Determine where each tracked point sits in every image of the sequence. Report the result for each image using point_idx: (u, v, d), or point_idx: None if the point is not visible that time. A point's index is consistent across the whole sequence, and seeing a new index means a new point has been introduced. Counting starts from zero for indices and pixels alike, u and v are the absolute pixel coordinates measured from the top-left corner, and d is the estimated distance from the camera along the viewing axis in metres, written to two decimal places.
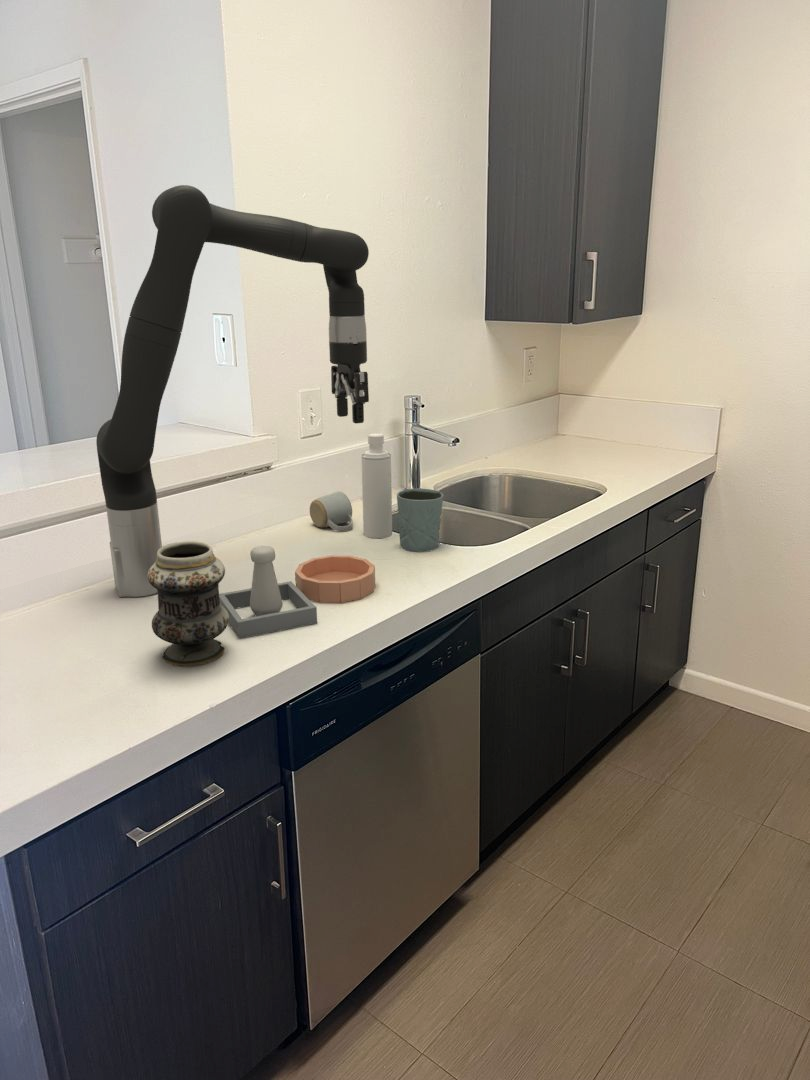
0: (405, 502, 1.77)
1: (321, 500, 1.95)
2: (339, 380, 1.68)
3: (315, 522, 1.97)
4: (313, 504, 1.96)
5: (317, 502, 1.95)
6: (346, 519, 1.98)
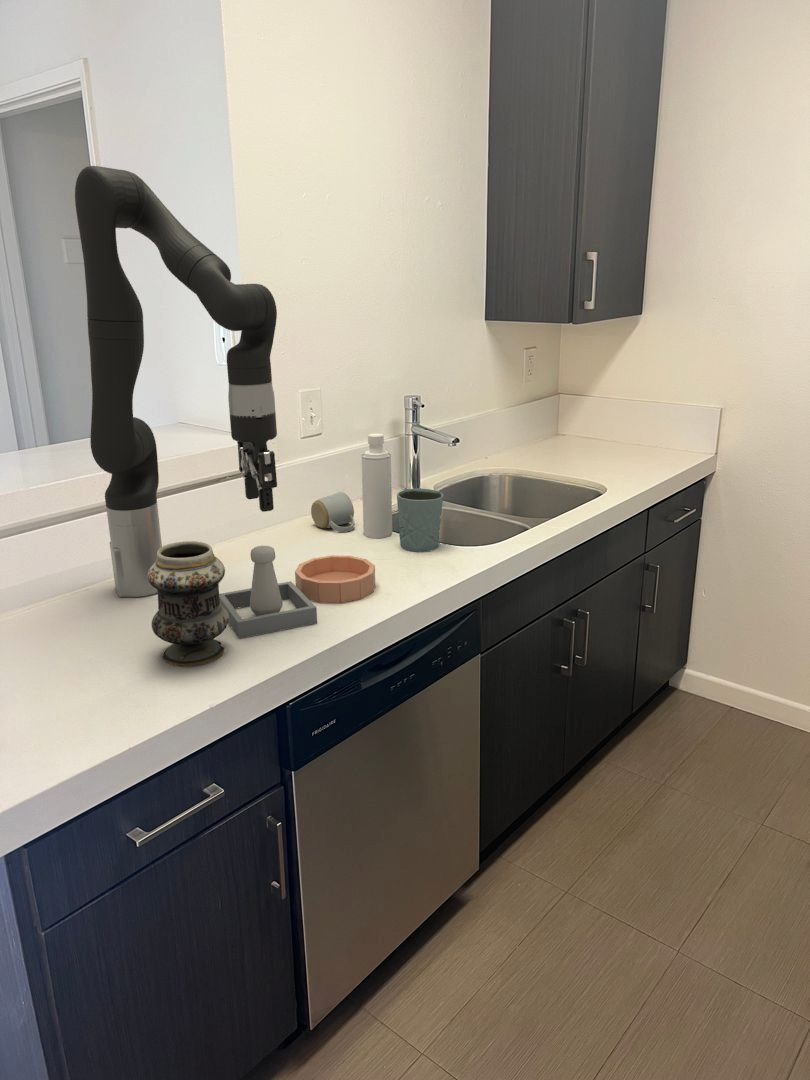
0: (405, 502, 1.77)
1: (323, 500, 1.95)
2: (244, 458, 1.40)
3: (316, 523, 1.97)
4: (314, 505, 1.96)
5: (319, 503, 1.94)
6: (348, 520, 1.98)
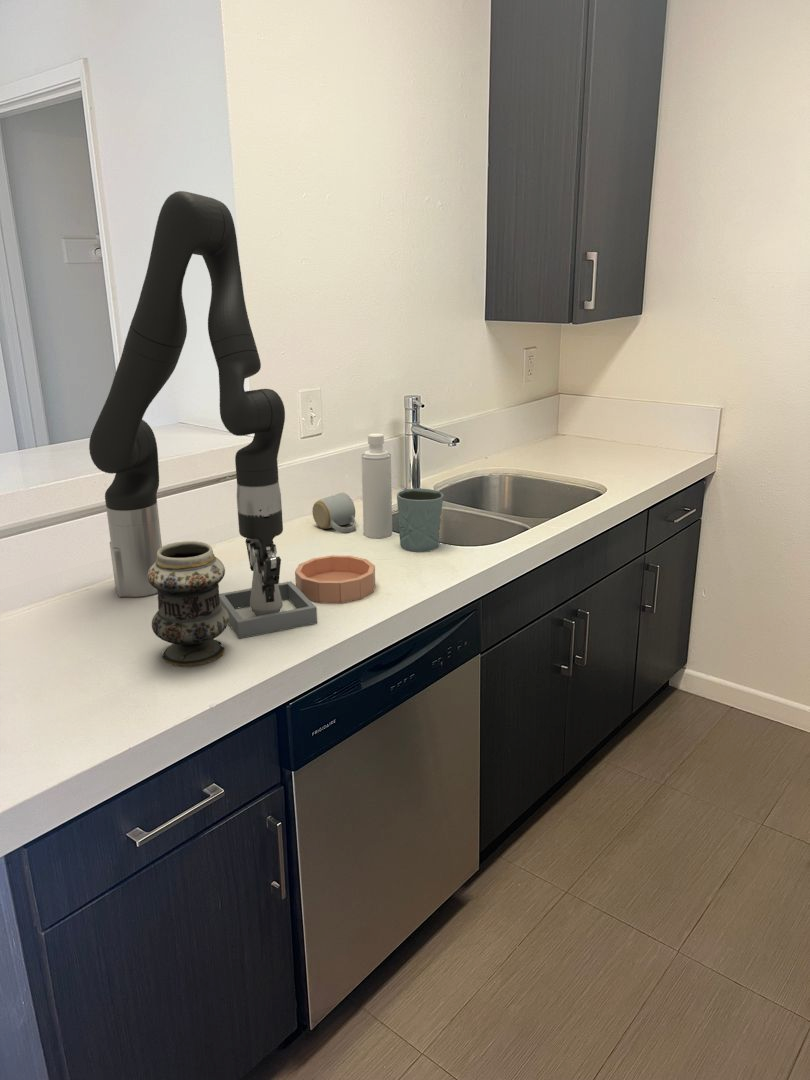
0: (405, 502, 1.77)
1: (324, 501, 1.94)
2: None
3: (318, 523, 1.96)
4: (316, 505, 1.95)
5: (320, 503, 1.94)
6: (349, 520, 1.97)
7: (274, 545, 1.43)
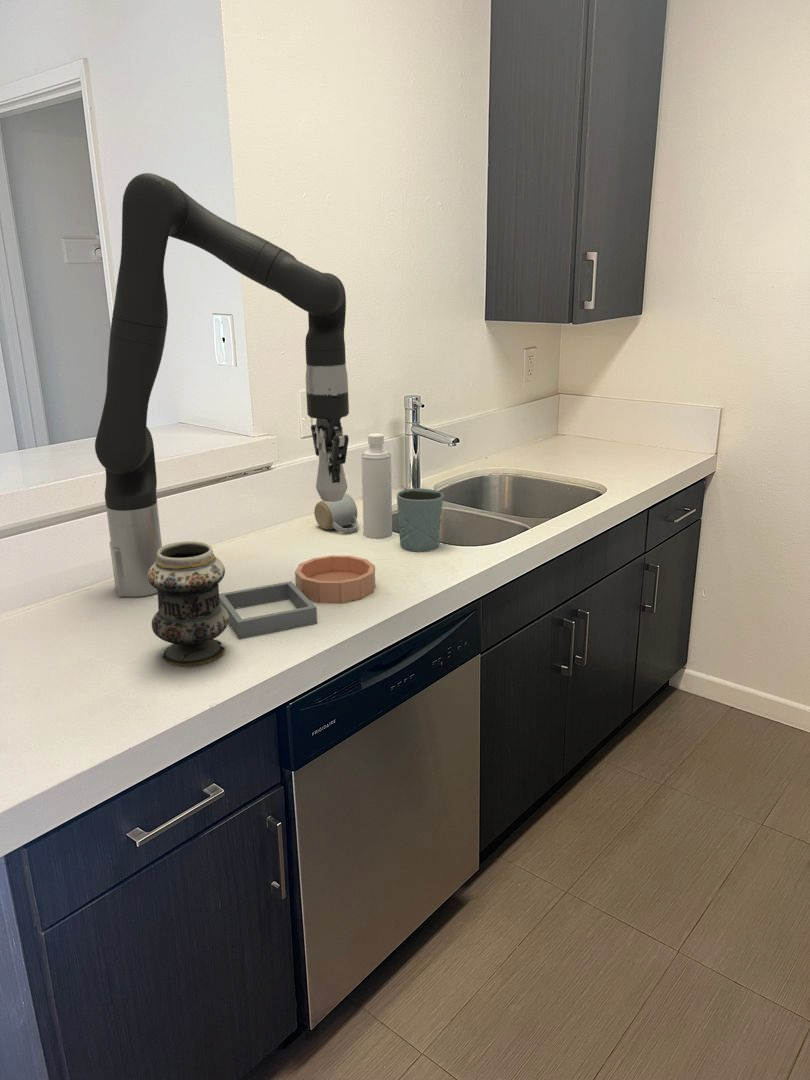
0: (405, 502, 1.77)
1: (326, 501, 1.93)
2: None
3: (320, 524, 1.96)
4: (318, 506, 1.95)
5: (322, 504, 1.93)
6: (351, 521, 1.97)
7: None
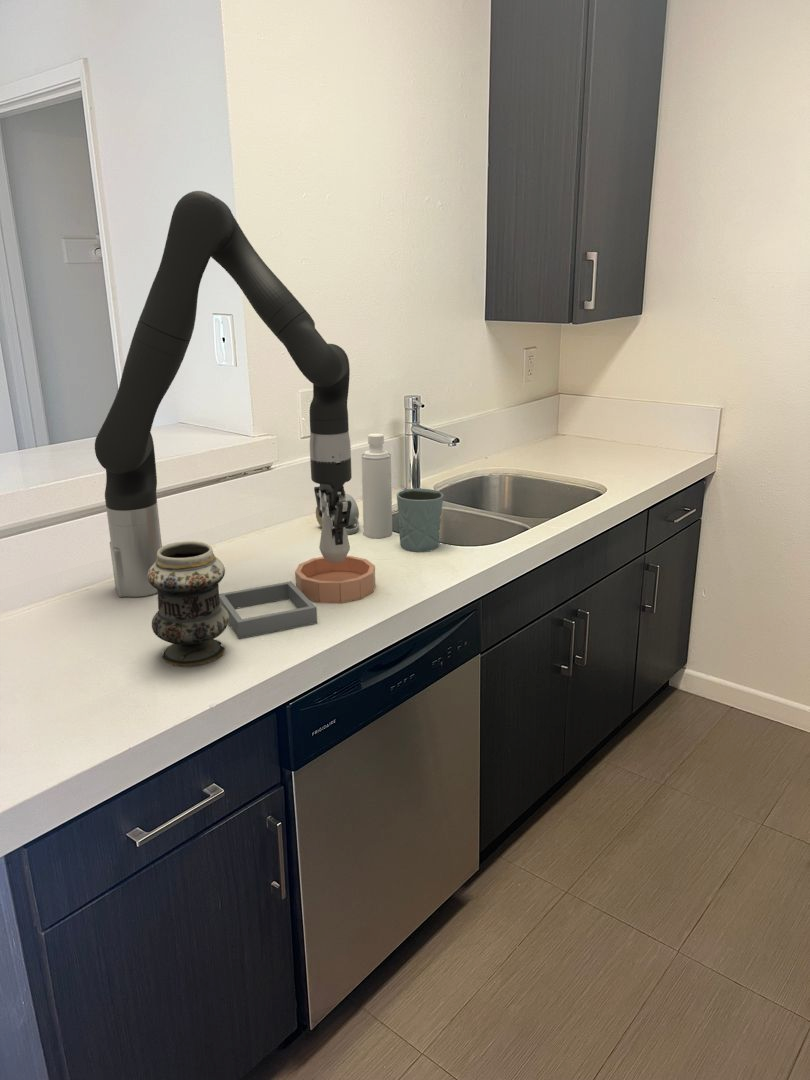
0: (405, 502, 1.77)
1: None
2: None
3: (321, 525, 1.95)
4: None
5: None
6: (352, 522, 1.96)
7: None
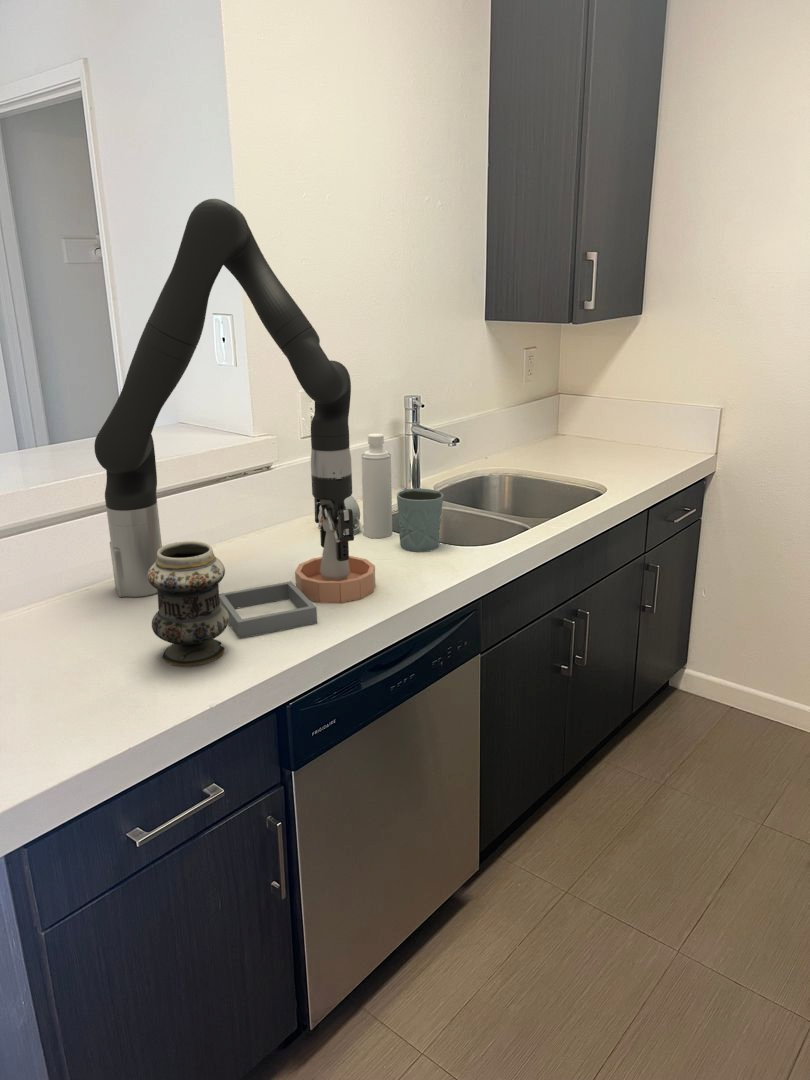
0: (405, 502, 1.77)
1: None
2: (322, 513, 1.56)
3: None
4: None
5: None
6: (354, 522, 1.96)
7: None
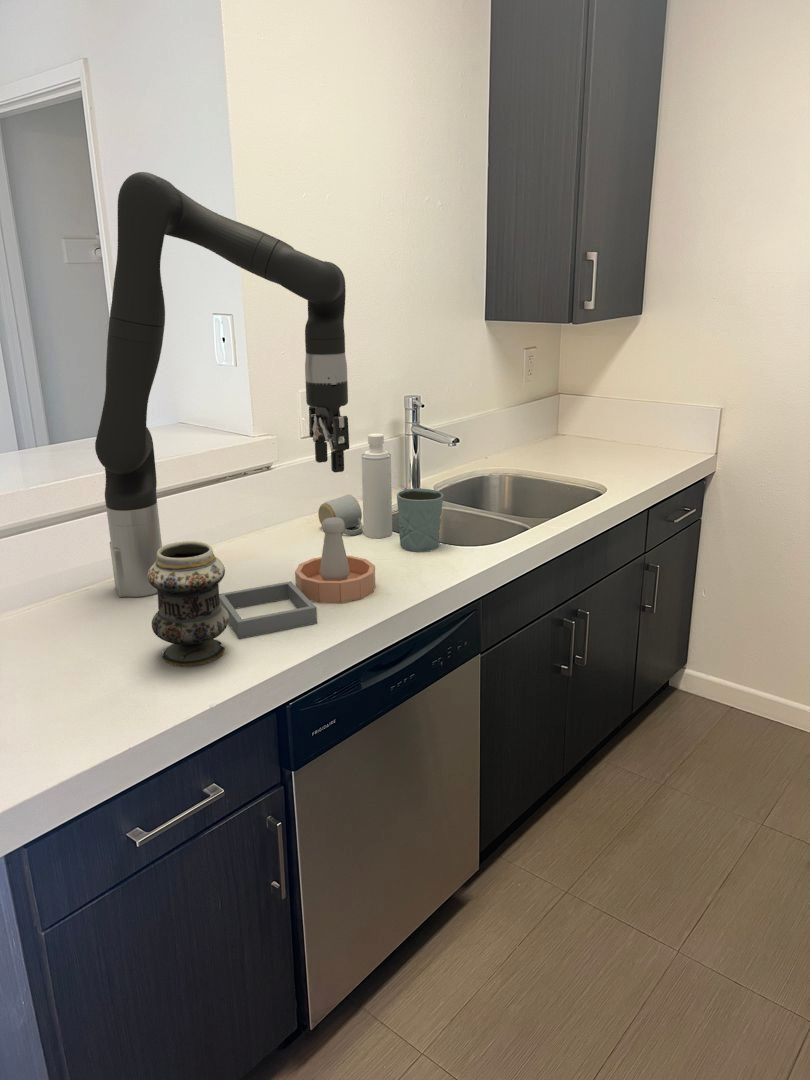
0: (405, 502, 1.77)
1: (330, 503, 1.92)
2: (317, 423, 1.51)
3: None
4: (322, 508, 1.93)
5: (326, 505, 1.92)
6: (355, 523, 1.95)
7: None
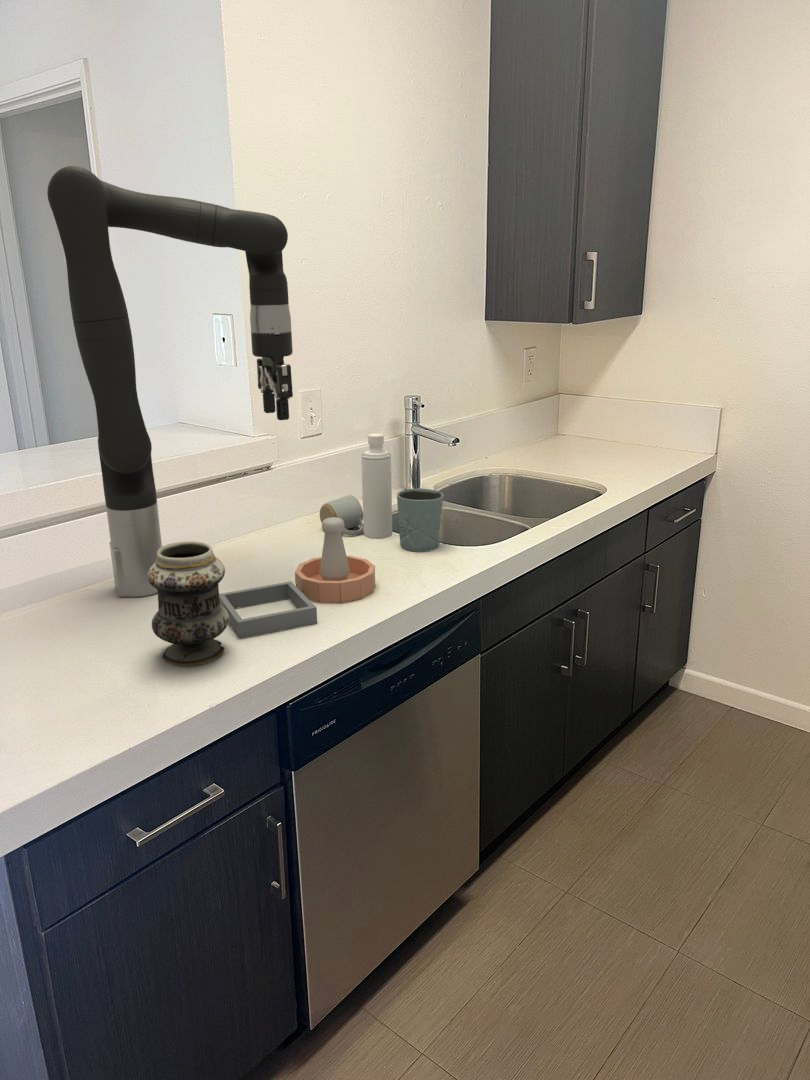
0: (405, 502, 1.77)
1: (331, 503, 1.92)
2: (263, 374, 1.57)
3: None
4: (323, 508, 1.93)
5: (327, 506, 1.91)
6: (357, 523, 1.95)
7: None
